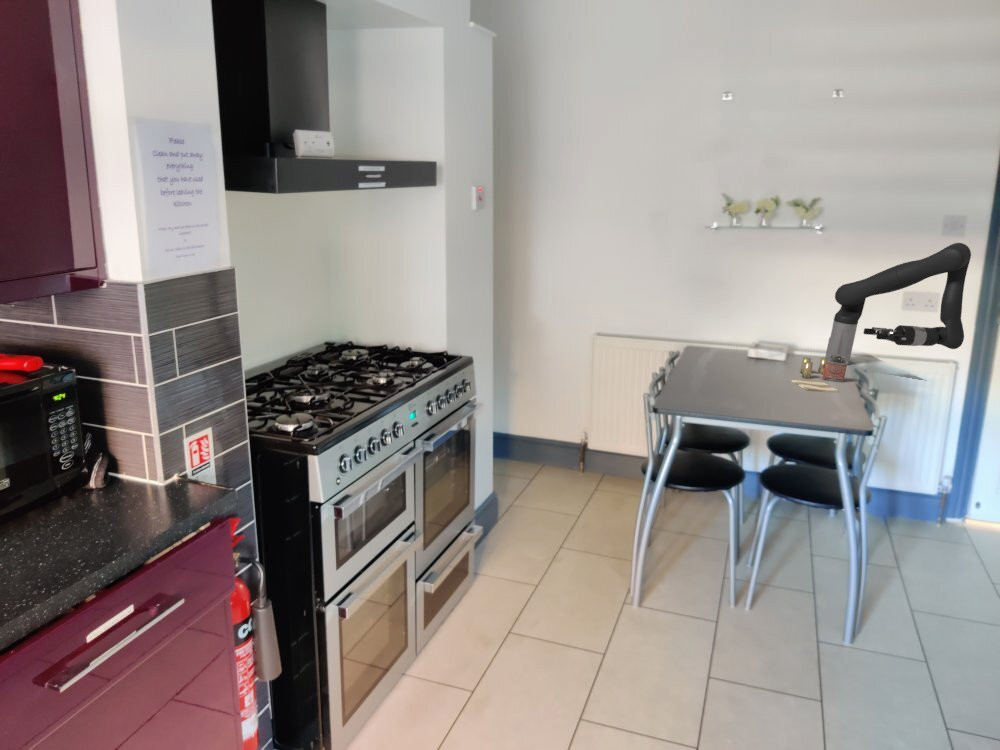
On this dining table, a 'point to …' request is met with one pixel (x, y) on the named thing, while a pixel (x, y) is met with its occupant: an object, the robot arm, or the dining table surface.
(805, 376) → the spacer posts
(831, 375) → the lighter
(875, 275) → the robot arm
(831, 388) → the pad
